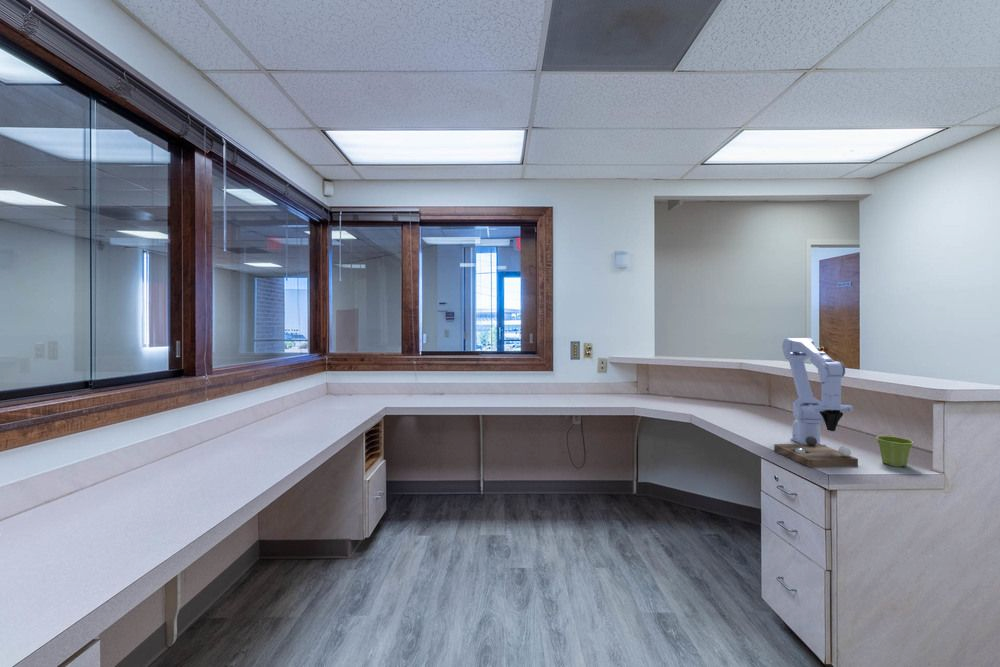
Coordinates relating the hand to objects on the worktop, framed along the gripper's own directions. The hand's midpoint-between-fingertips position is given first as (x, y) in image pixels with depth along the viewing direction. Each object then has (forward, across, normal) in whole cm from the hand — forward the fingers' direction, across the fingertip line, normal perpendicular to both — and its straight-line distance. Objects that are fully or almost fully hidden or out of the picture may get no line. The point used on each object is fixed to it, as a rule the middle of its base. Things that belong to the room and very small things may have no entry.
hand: (831, 430), depth 153 cm
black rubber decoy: (+5, -4, +4) cm, 8 cm away
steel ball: (+8, -13, -2) cm, 15 cm away
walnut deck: (+9, -8, -2) cm, 13 cm away
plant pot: (+10, +14, -10) cm, 20 cm away
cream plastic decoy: (+5, -2, -8) cm, 10 cm away
